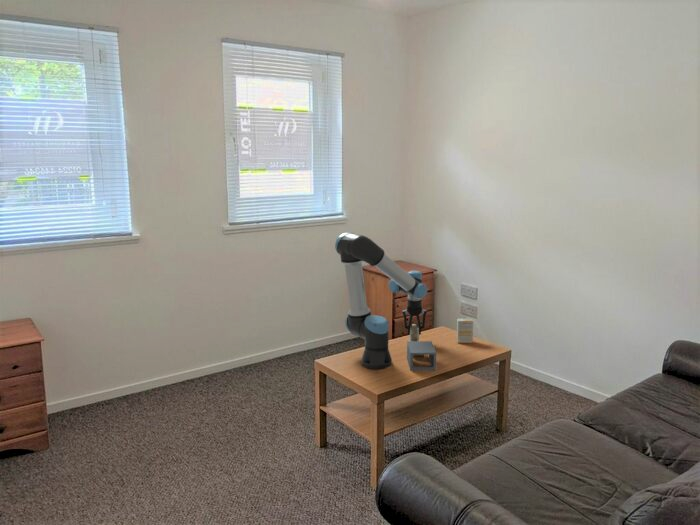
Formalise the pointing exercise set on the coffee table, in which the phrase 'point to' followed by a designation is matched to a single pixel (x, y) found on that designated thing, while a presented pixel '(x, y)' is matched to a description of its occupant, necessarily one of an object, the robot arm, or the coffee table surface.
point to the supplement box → (464, 330)
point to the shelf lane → (421, 353)
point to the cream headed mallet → (415, 338)
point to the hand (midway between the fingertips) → (414, 340)
